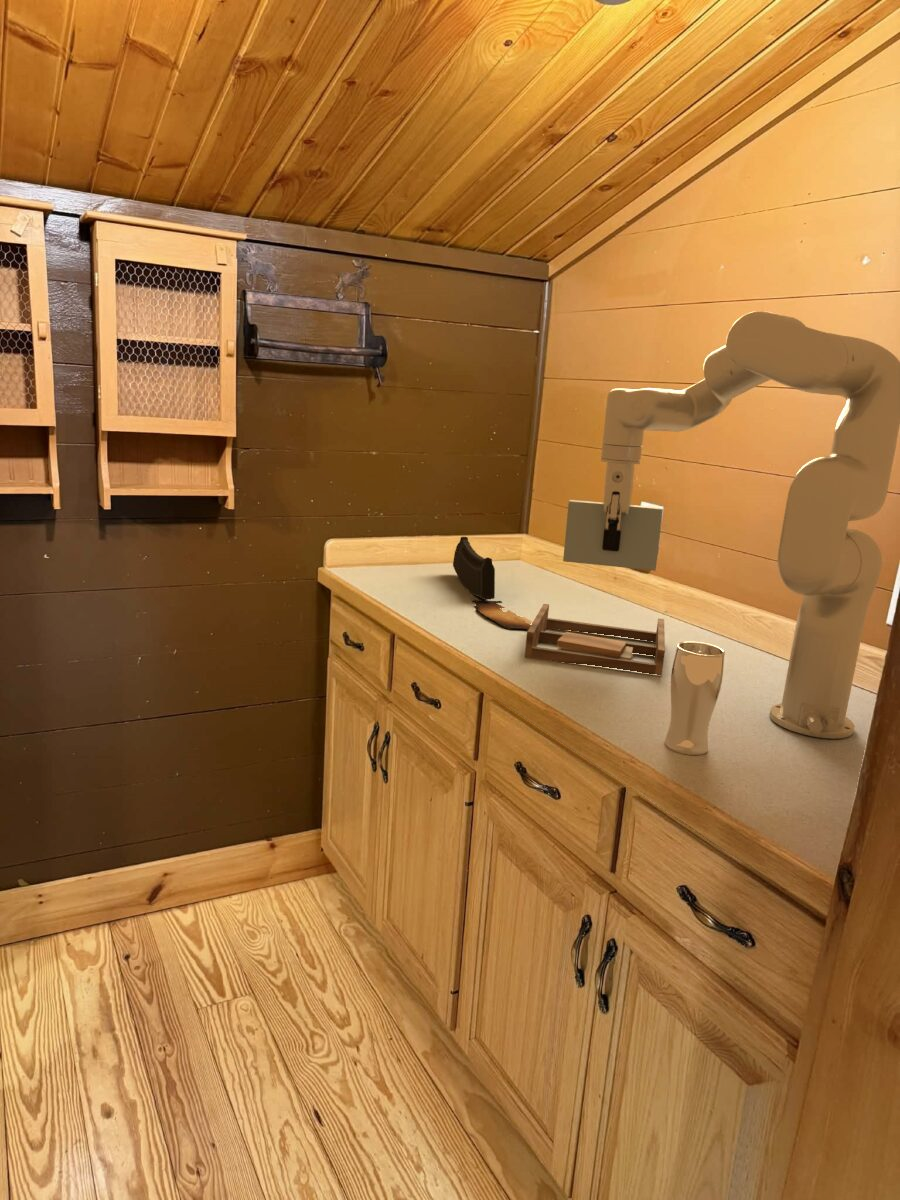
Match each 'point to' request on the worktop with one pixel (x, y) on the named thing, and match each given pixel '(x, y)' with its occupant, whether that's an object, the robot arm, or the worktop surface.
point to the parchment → (501, 615)
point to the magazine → (474, 570)
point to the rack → (543, 622)
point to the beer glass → (693, 695)
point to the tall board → (634, 540)
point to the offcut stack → (594, 646)
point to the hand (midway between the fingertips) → (611, 548)
